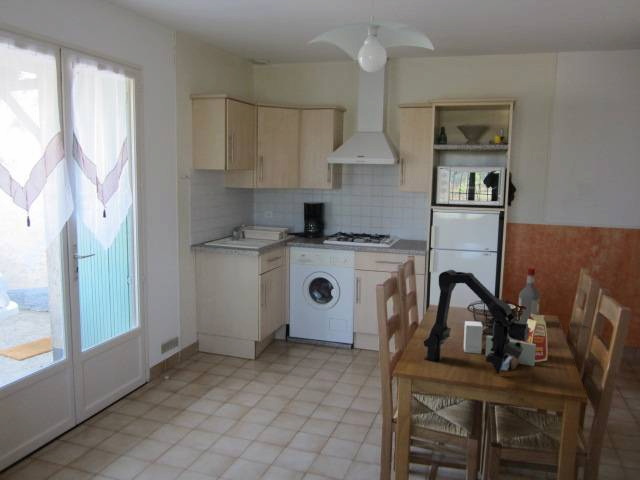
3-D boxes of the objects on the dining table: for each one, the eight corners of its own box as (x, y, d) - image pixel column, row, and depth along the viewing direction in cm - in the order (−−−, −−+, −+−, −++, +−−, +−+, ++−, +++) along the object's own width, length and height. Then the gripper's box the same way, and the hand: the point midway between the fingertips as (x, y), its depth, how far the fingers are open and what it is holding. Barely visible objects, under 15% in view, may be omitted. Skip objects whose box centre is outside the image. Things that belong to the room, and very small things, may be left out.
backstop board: (533, 366, 218) (535, 345, 217) (485, 356, 229) (486, 336, 227) (534, 364, 220) (535, 344, 218) (486, 355, 230) (487, 335, 229)
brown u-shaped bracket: (514, 369, 215) (515, 357, 214) (494, 364, 219) (495, 353, 218) (518, 363, 221) (518, 352, 220) (498, 359, 225) (499, 348, 224)
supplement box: (481, 353, 232) (483, 326, 230) (464, 352, 233) (465, 325, 231) (480, 348, 239) (481, 321, 237) (463, 347, 240) (464, 320, 239)
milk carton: (531, 362, 222) (534, 317, 219) (517, 354, 231) (520, 311, 228) (549, 360, 225) (552, 315, 222) (535, 353, 233) (538, 309, 231)
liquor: (516, 324, 275) (519, 268, 271) (521, 320, 282) (524, 266, 278) (534, 327, 270) (538, 271, 265) (538, 323, 277) (542, 268, 273)
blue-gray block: (506, 371, 213) (507, 363, 213) (498, 369, 215) (499, 362, 214) (511, 364, 221) (512, 357, 220) (504, 362, 222) (504, 355, 222)
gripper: (516, 346, 193) (514, 386, 195) (526, 333, 209) (524, 370, 211) (486, 340, 199) (484, 379, 201) (497, 328, 215) (495, 364, 217)
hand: (498, 373), depth 207 cm, fingers closed
